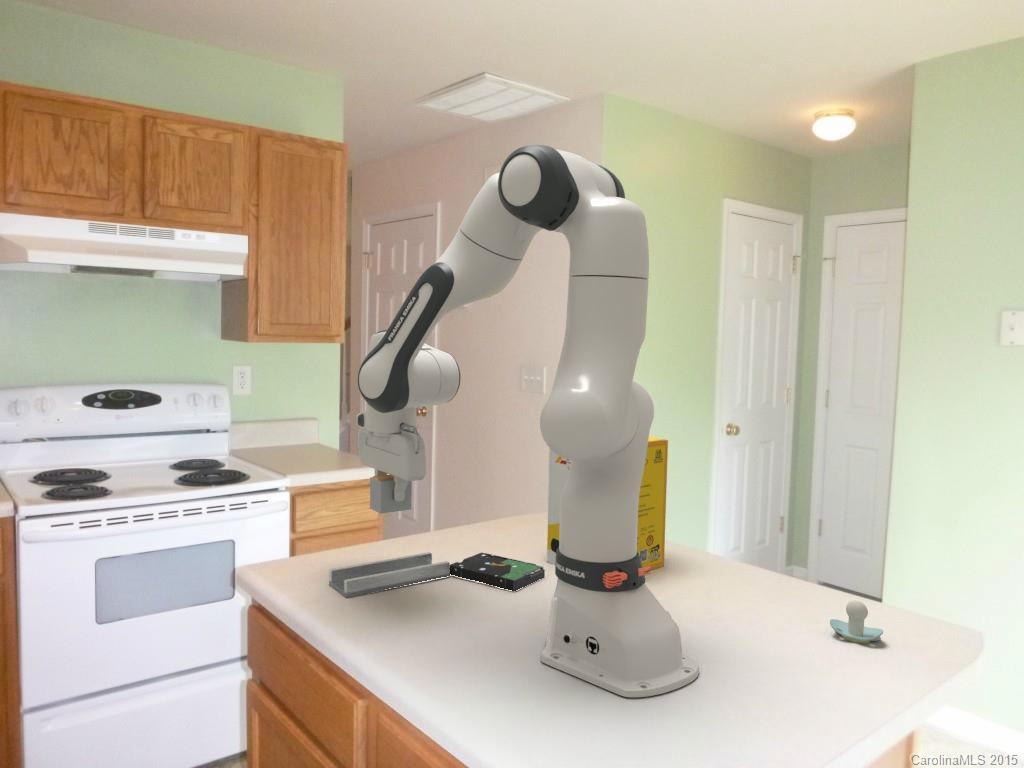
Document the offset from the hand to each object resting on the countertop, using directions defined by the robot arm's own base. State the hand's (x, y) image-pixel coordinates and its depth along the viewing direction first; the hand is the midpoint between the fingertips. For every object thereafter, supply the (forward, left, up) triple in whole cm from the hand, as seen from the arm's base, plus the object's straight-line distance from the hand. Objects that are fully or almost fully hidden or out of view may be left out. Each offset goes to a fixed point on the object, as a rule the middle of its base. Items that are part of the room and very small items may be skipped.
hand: (390, 497), depth 136 cm
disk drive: (-8, -18, -16) cm, 25 cm away
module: (0, 0, -2) cm, 2 cm away
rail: (0, 0, -15) cm, 15 cm away
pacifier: (-61, -48, -16) cm, 79 cm away
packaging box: (-13, -40, -16) cm, 45 cm away
